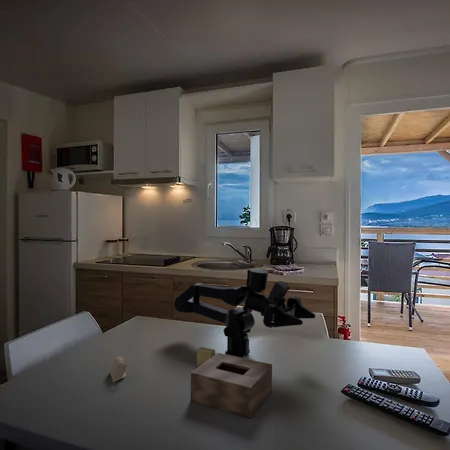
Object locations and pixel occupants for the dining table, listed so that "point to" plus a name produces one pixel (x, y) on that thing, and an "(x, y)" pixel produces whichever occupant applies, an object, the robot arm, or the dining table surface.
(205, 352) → the yellow square block
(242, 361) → the walnut box
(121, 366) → the decorative ornament
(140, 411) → the dining table surface
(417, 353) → the dining table surface
